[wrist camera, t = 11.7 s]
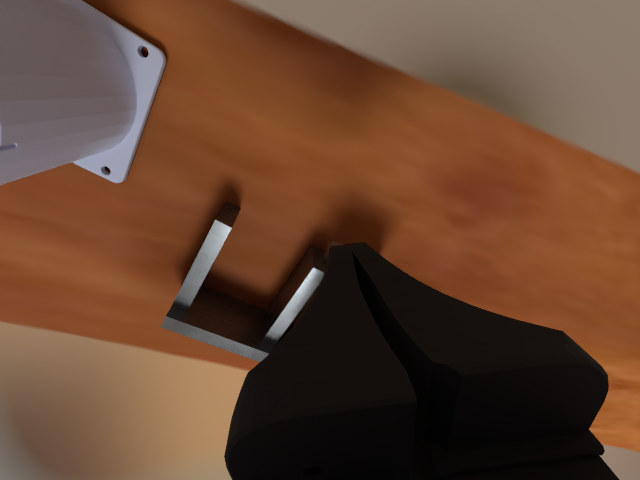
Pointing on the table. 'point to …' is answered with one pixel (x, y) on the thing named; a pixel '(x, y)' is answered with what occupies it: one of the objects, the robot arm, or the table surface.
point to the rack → (233, 315)
